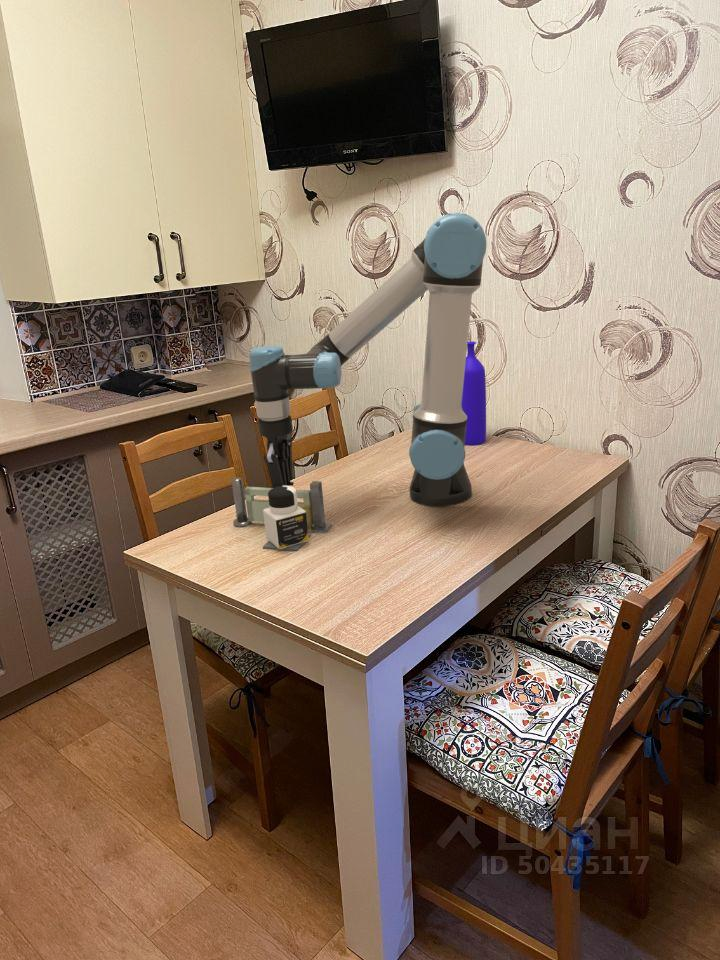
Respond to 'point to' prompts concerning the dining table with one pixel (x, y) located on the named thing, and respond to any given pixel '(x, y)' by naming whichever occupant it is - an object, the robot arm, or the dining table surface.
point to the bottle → (474, 398)
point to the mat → (291, 548)
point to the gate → (257, 505)
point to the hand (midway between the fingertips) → (286, 513)
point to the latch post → (316, 510)
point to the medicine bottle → (285, 518)
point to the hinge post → (240, 503)
